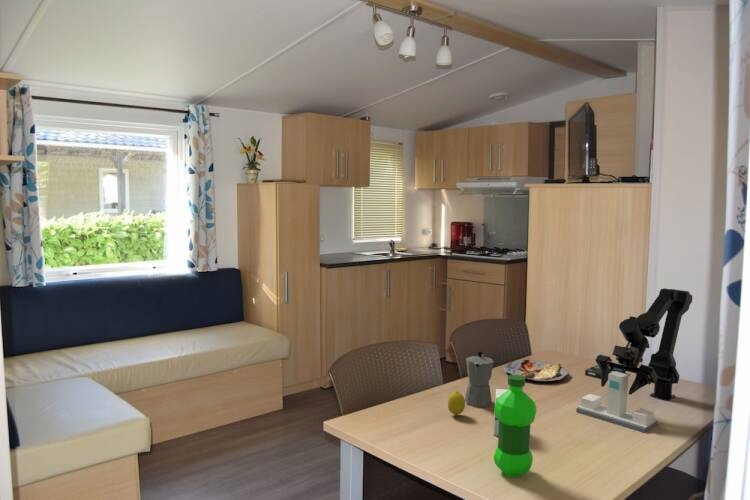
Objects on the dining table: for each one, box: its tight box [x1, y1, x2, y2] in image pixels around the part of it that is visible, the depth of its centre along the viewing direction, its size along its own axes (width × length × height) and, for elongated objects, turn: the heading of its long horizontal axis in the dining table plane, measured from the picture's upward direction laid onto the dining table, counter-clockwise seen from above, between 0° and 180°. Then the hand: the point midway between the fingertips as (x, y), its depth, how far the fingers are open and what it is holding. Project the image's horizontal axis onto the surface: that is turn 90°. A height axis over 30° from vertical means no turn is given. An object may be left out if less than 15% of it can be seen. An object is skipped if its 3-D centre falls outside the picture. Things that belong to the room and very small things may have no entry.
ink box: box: [493, 388, 509, 437], centre depth 174 cm, size 9×5×12 cm, turn 168°
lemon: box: [447, 390, 466, 417], centre depth 186 cm, size 6×6×8 cm
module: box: [606, 371, 629, 417], centre depth 186 cm, size 5×4×13 cm
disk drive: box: [584, 364, 627, 380], centre depth 233 cm, size 10×3×15 cm
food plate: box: [503, 358, 569, 383], centre depth 231 cm, size 25×23×4 cm
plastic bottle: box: [493, 374, 537, 478], centre depth 148 cm, size 10×10×25 cm
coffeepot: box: [464, 350, 495, 408], centre depth 199 cm, size 15×9×18 cm, turn 163°
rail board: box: [576, 393, 659, 434], centre depth 187 cm, size 10×22×4 cm, turn 43°
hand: (615, 390), depth 185 cm, fingers open, 9 cm apart
